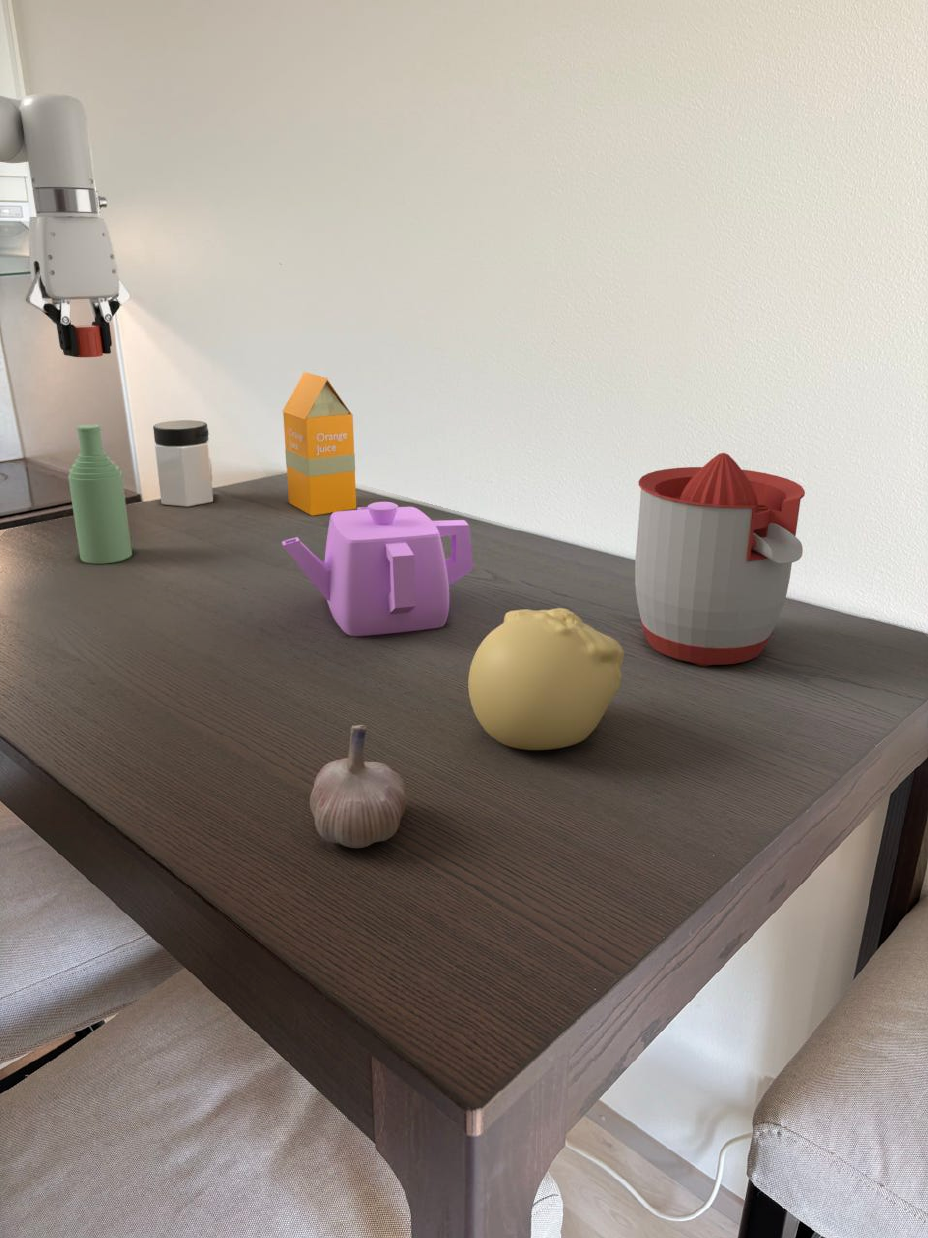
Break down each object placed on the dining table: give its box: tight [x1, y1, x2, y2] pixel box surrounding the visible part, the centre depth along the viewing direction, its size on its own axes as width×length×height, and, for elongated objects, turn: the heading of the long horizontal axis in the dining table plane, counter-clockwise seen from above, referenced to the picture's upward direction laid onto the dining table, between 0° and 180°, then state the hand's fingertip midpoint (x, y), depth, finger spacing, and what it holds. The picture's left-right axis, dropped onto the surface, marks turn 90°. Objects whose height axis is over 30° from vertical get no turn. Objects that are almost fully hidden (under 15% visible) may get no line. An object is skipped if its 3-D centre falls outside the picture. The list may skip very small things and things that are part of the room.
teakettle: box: [281, 501, 474, 637], centre depth 105 cm, size 17×17×12 cm
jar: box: [152, 419, 214, 508], centre depth 150 cm, size 9×8×12 cm
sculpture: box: [467, 607, 625, 751], centre depth 79 cm, size 12×12×11 cm
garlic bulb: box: [309, 724, 407, 849], centre depth 66 cm, size 8×7×8 cm
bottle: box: [67, 423, 133, 565], centre depth 122 cm, size 6×6×17 cm
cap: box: [74, 324, 104, 358], centre depth 127 cm, size 4×4×4 cm
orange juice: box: [281, 371, 357, 516], centre depth 146 cm, size 8×9×20 cm
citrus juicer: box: [634, 452, 806, 667], centre depth 94 cm, size 16×17×20 cm
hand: (87, 352), depth 128 cm, fingers closed on cap, 3 cm apart
